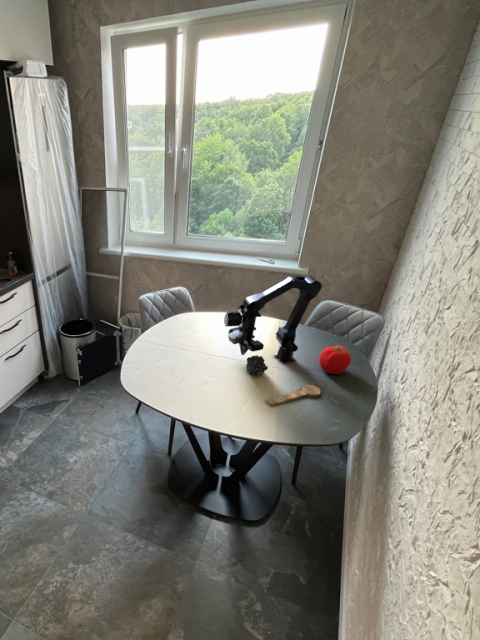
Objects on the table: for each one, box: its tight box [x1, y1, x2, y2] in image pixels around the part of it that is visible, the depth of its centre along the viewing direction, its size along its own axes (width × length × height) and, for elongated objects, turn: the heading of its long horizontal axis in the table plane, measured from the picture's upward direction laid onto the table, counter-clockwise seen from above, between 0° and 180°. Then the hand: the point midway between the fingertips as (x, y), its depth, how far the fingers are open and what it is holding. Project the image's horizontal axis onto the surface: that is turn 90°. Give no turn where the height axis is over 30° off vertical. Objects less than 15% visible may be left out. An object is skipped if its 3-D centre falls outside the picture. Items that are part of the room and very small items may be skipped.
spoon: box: [267, 384, 322, 407], centre depth 164 cm, size 24×7×1 cm, turn 109°
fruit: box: [246, 354, 269, 377], centre depth 179 cm, size 9×8×15 cm
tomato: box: [318, 344, 352, 375], centre depth 176 cm, size 12×13×12 cm
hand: (242, 354), depth 188 cm, fingers closed
